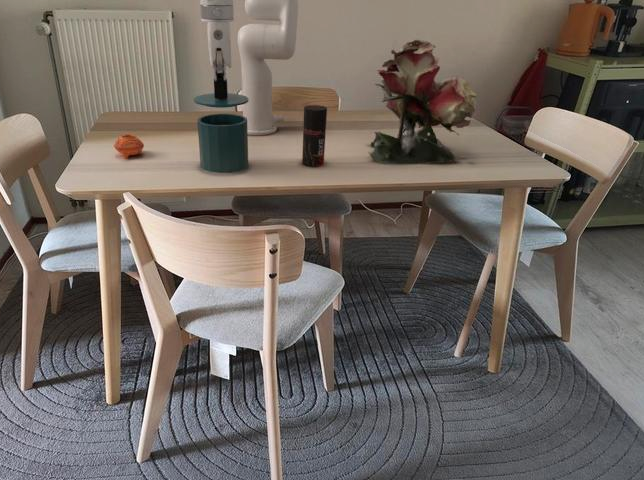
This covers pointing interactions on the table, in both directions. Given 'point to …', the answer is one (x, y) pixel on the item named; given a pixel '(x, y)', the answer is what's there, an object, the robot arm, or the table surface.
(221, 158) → the tin
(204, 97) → the lid
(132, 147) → the pot
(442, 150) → the rose bouquet
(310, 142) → the deodorant
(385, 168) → the table surface
